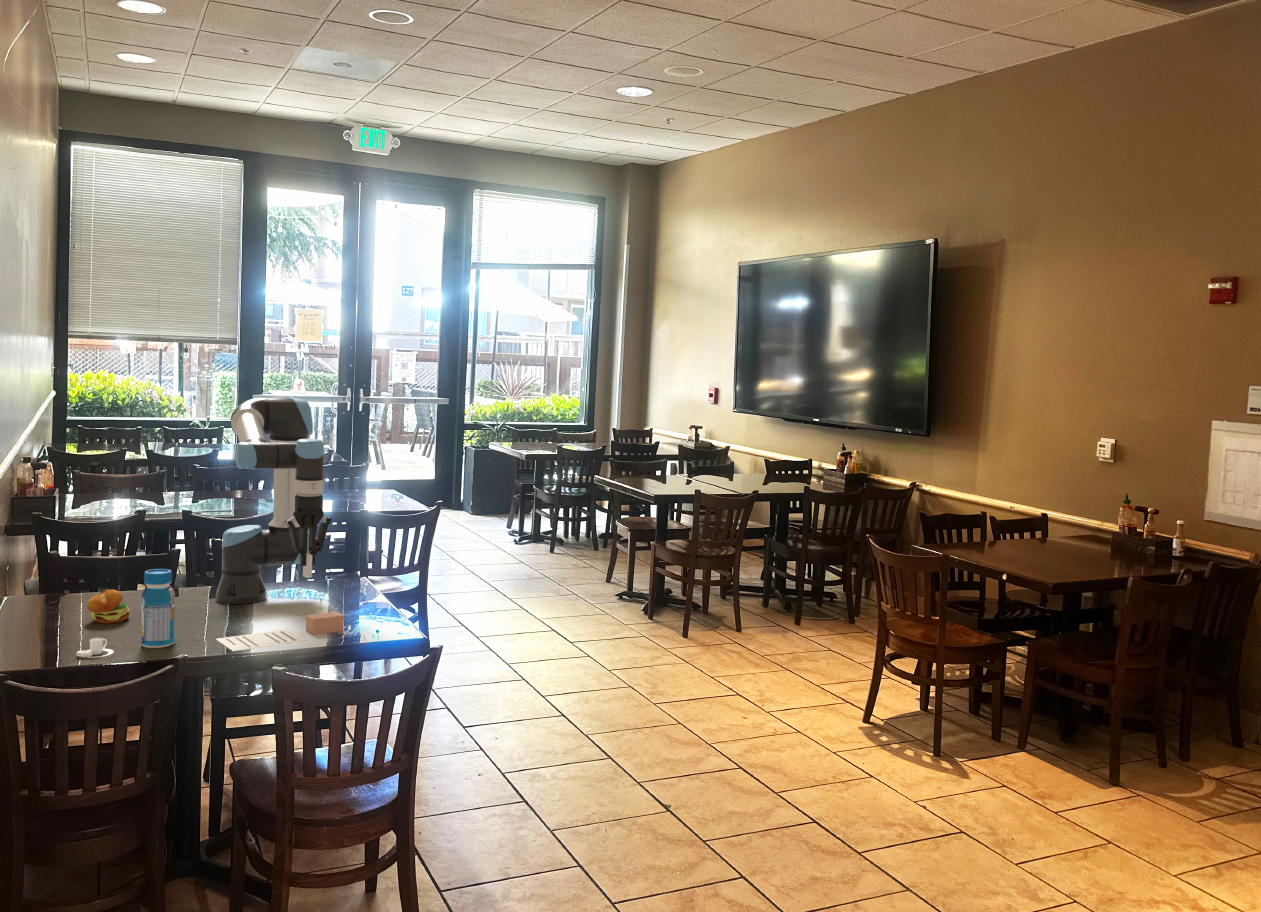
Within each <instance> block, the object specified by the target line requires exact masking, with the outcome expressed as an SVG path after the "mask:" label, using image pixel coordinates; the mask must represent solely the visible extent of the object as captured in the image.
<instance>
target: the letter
mask: <svg viewBox="0 0 1261 912" xmlns="http://www.w3.org/2000/svg"><path fill="white" fill-rule="evenodd" d="M215 640H216V641H217V642H219V643H220V644H222V645H223V646H225V647H226V648H228V649H229V650H230V651H232V652H237V651H245V650H251V649H258V648H264V647H271V646H279V645H285V644H291V643H292V644H293V643H298V642H300V643H301V642H307V639H305V638H303V637H301V636H300V635H298V634H296V633H294V631H293V632H292V631H291V630H289V629H287V628H286V629H285V628H284V629H277V630H269V631H264V632H263V631H262V632H256V633H249V634H247V633H246V634H240V635H235V636H226V637H218V638H215Z"/></svg>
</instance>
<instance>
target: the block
mask: <svg viewBox="0 0 1261 912" xmlns="http://www.w3.org/2000/svg"><path fill="white" fill-rule="evenodd" d="M305 632H307V633H309V634H311V635H313V636H315V635H316V636H317V635H322V634H330V633H336V634H337V633H344V614H342V613H339V612H338V611H329V612H322V613H316V614H315V613H314V614H308V615H305Z"/></svg>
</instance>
